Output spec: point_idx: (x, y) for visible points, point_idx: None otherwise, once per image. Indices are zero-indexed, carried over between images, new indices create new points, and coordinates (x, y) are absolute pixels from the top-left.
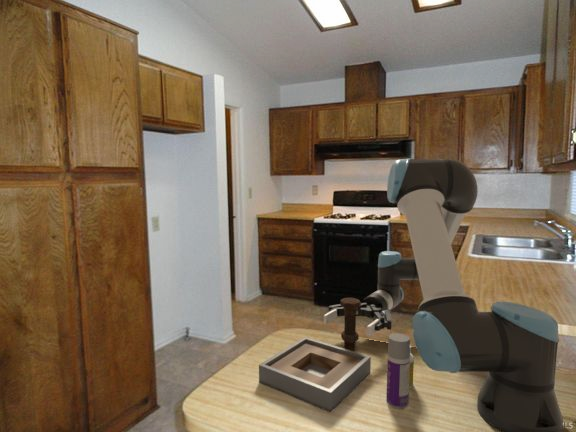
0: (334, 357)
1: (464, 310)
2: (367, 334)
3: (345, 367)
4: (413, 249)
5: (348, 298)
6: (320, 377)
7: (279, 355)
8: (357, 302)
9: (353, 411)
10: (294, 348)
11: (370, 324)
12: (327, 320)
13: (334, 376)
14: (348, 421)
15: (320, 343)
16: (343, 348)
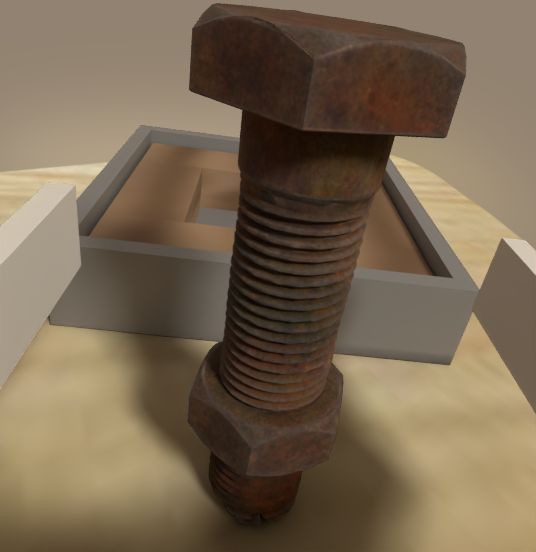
0: (228, 237)
1: None
2: (75, 254)
3: (150, 205)
4: None
5: (413, 39)
6: (207, 167)
7: (396, 187)
8: (219, 4)
9: (83, 189)
10: (418, 238)
11: (45, 206)
12: (491, 297)
13: (168, 175)
14: (88, 172)
15: (356, 268)
16: (217, 262)
